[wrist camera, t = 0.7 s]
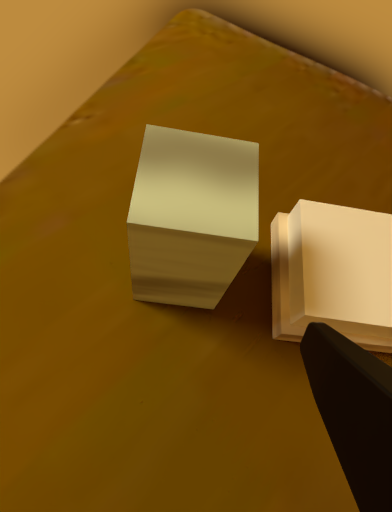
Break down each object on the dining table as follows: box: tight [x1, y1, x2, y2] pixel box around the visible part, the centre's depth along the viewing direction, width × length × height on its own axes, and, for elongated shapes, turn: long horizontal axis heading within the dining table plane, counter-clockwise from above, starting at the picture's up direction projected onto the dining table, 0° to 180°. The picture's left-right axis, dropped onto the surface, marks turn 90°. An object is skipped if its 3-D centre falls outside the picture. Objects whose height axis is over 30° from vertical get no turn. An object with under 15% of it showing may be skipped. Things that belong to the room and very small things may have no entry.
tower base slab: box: [271, 212, 392, 353], centre depth 27 cm, size 10×10×2 cm
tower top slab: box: [288, 199, 392, 339], centre depth 25 cm, size 9×9×2 cm
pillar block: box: [127, 124, 259, 310], centre depth 22 cm, size 6×6×11 cm
